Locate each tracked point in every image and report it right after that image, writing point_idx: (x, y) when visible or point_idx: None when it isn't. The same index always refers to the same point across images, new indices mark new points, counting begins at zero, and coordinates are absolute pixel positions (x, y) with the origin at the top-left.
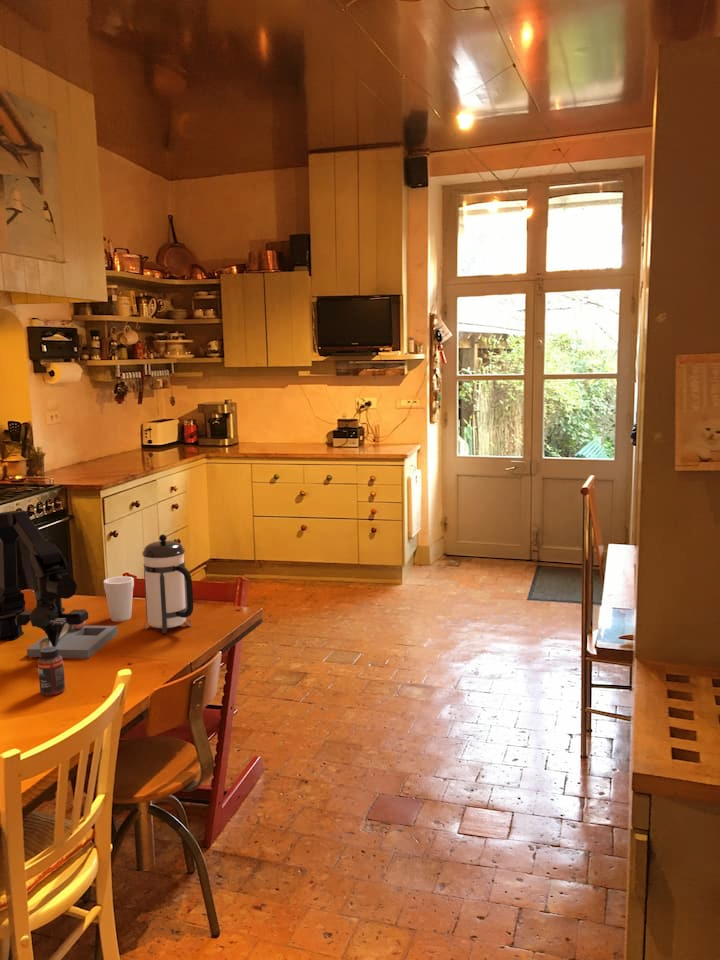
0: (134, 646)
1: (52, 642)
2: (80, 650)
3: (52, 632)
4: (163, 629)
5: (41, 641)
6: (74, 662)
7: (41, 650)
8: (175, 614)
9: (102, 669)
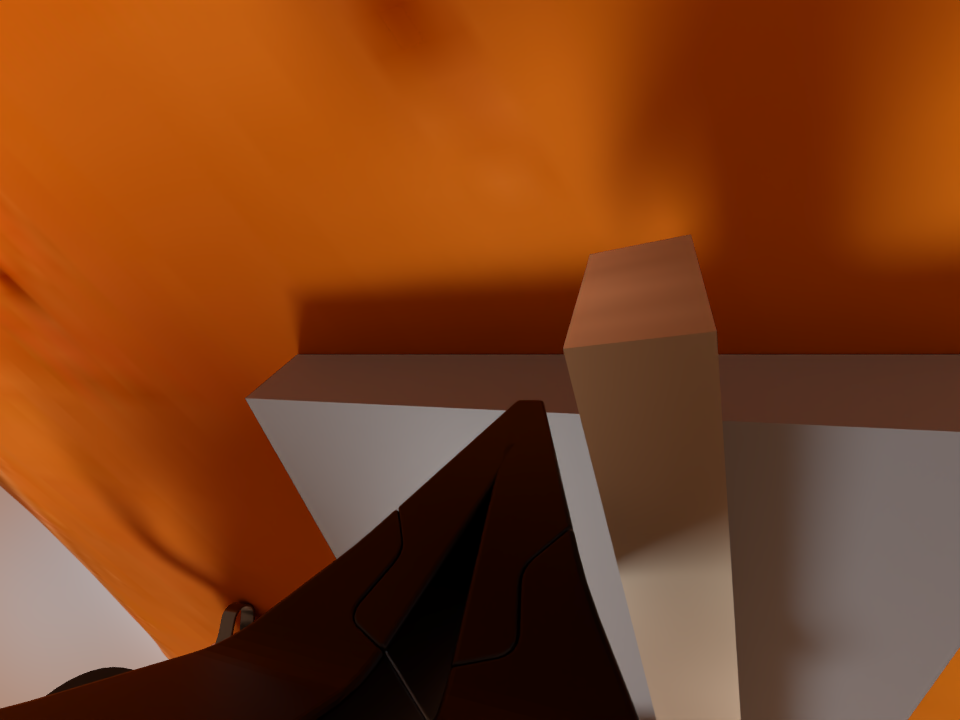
0: (233, 513)
1: (522, 441)
2: (305, 397)
3: (397, 609)
4: (228, 627)
5: (696, 397)
6: (330, 265)
7: None
8: None
9: (16, 145)
